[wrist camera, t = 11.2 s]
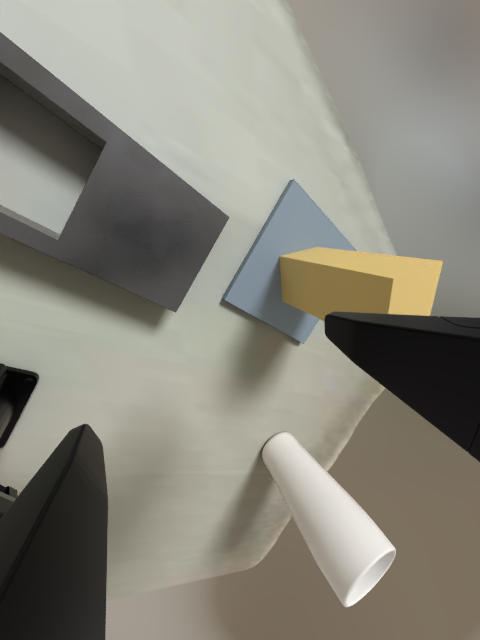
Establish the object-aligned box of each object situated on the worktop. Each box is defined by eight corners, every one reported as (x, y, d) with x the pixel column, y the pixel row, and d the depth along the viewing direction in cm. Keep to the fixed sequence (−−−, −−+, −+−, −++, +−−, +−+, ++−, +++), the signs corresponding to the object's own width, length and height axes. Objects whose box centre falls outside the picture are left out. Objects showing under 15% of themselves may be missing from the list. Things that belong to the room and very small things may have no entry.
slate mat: (300, 341, 28) (303, 343, 28) (221, 298, 22) (224, 299, 21) (355, 253, 27) (359, 254, 27) (290, 180, 21) (294, 179, 20)
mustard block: (282, 301, 24) (382, 348, 15) (279, 256, 22) (393, 278, 13) (317, 290, 26) (427, 326, 17) (317, 246, 24) (443, 261, 15)
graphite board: (169, 303, 20) (175, 312, 18) (-214, 123, 10) (-301, 97, 8) (217, 218, 19) (229, 217, 17) (-145, -64, 9) (-220, -146, 7)
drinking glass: (272, 422, 31) (375, 555, 19) (303, 428, 35) (407, 543, 22) (246, 463, 32) (330, 619, 19) (279, 465, 36) (368, 597, 23)
